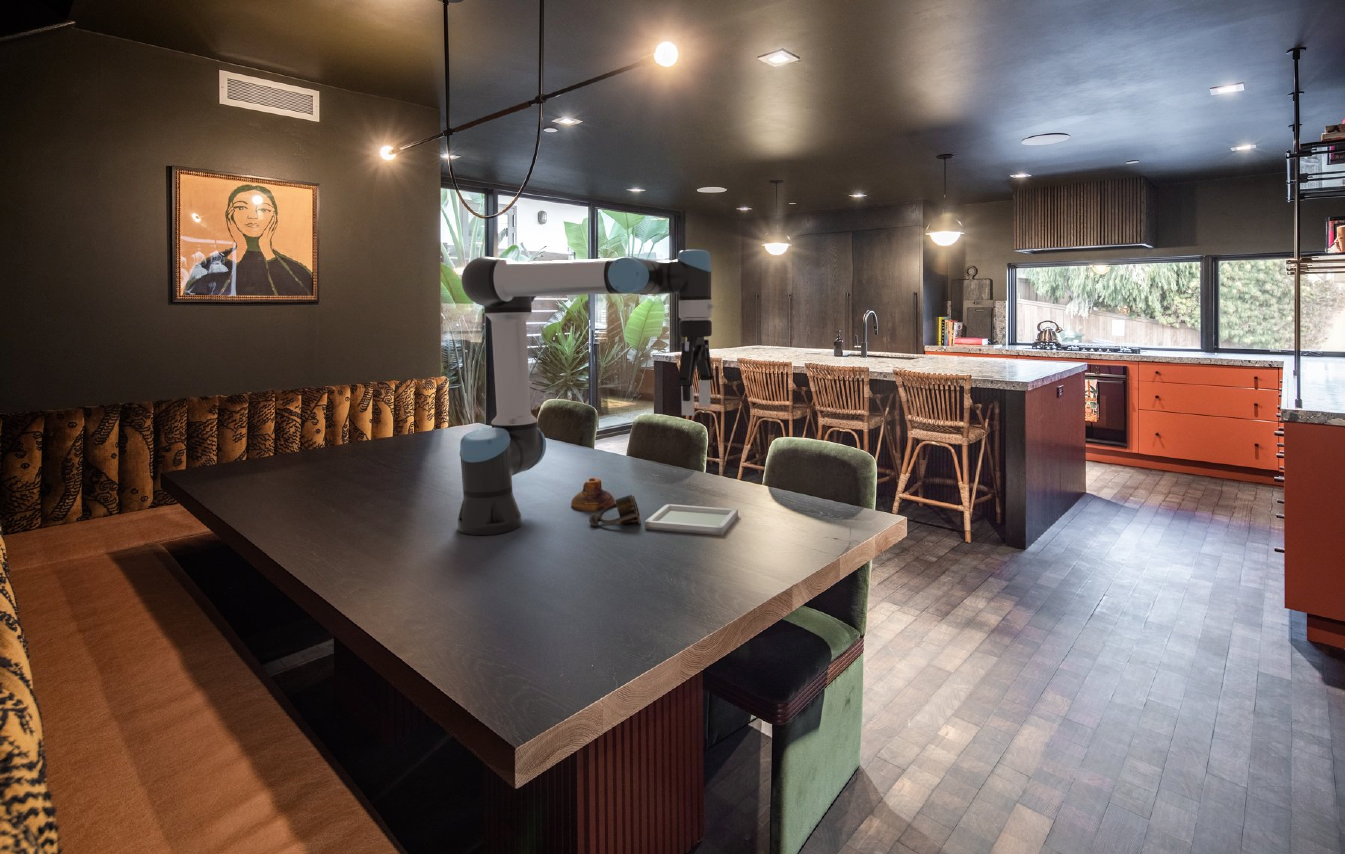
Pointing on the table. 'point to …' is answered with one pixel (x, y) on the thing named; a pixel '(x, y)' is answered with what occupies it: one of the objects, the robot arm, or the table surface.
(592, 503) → the bell
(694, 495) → the table surface
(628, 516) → the brown piece
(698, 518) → the tray
